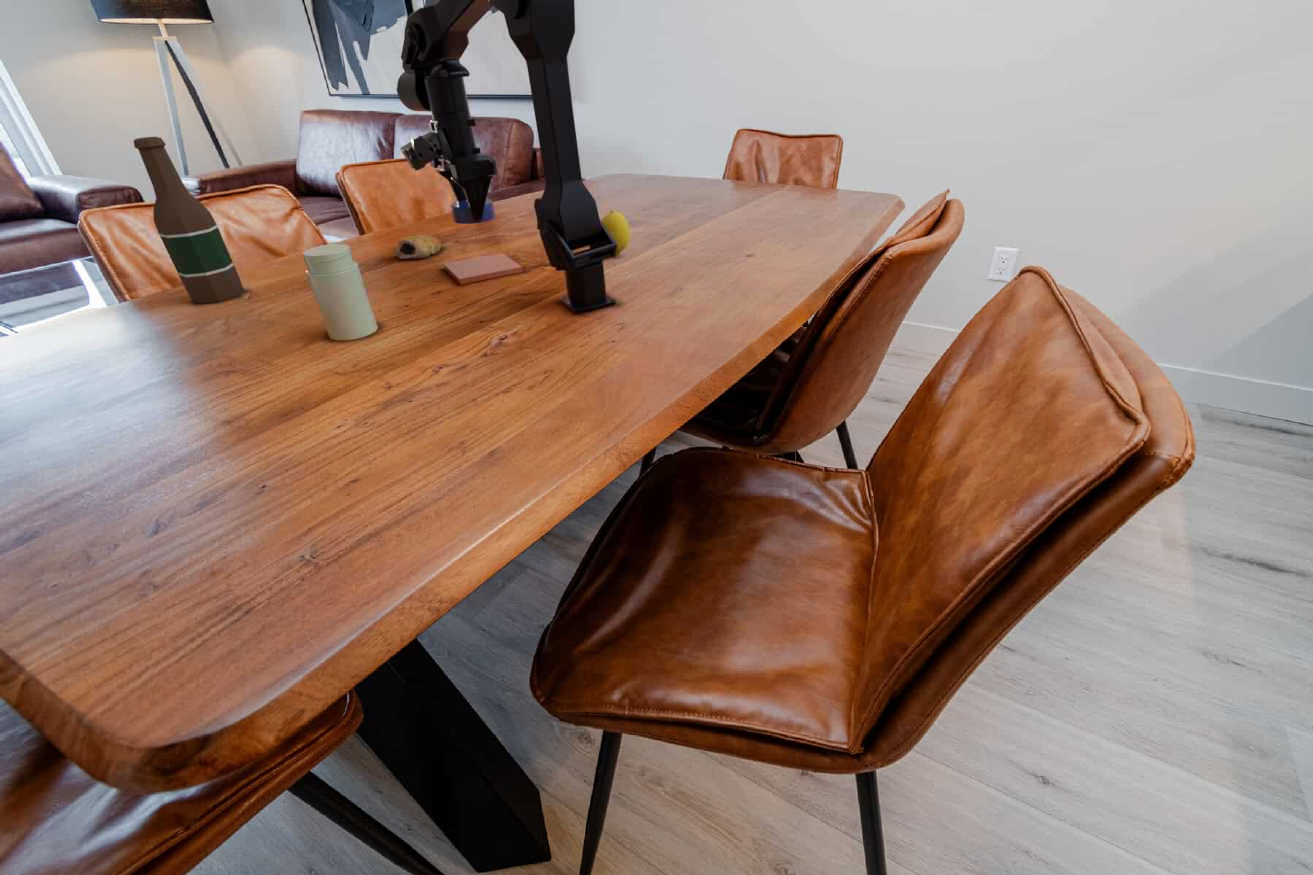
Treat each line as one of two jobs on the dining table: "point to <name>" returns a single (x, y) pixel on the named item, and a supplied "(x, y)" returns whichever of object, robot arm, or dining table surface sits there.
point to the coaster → (482, 268)
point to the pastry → (417, 246)
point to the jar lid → (464, 214)
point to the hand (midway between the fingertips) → (472, 217)
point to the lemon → (617, 229)
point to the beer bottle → (188, 230)
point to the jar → (339, 292)
